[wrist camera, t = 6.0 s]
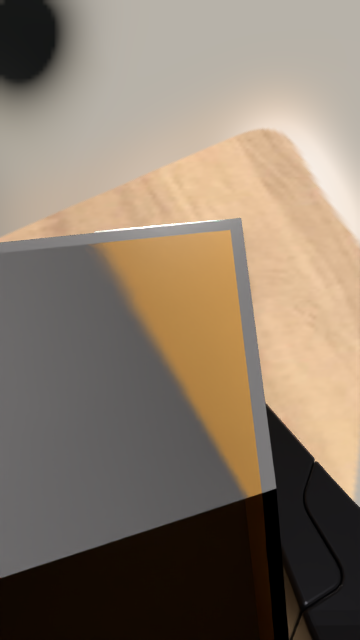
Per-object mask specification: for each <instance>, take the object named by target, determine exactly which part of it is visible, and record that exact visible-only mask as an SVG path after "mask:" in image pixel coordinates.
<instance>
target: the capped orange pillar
mask: <svg viewBox="0 0 360 640" xmlns="http://www.w3.org/2000/svg"><path fill="white" fill-rule="evenodd" d="M0 640H289V633H288V621H287V609H286V597H285V585H284V573H283V561H282V549H281V537H280V525H279V513H278V502H277V490H276V482H275V474H274V466H273V459H272V451H271V443H270V436H269V428H268V420H267V413H266V405H265V397H264V390H263V382H262V374H261V367H260V359H259V351H258V344H257V336H256V328H255V321H254V313H253V305H252V298H251V290H250V282H249V275H248V267H247V259H246V252H245V244H244V236H243V229H242V221H241V218H236V219H226V220H216V221H207V222H197V223H187V224H177V225H168V226H158V227H148V228H138V229H128V230H119V231H109V232H99V233H89V234H79V235H70V236H60V237H50V238H40V239H30V240H21V241H11V242H1V243H0Z"/></svg>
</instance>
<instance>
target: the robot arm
mask: <svg viewBox="0 0 360 640" xmlns="http://www.w3.org/2000/svg"><path fill="white" fill-rule="evenodd" d="M265 405H266V413H267V420H268V428H269V436H270V443H271V451H272V459H273V466H274V474H275V482H276V490H277V502H278V513H279V525H280V537H281V549H282V561H283V573H284V585H285V597H286V609H287V621H288V633H289V640H360V507H359V506H358V505H357V504H356V503H355V502H354V501H353V500H352V499H351V498H350V497H349V496H348V495H347V494H346V493H345V492H344V490H343V489H342V488H341V487H340V486H339V485H338V484H337V483H336V482H335V481H334V480H333V479H332V477H331V476H330V475H329V474H328V473H327V472H326V471H325V470H324V468H323V467H322V466H321V465H320V464H319V463H318V462H317V461H315V459H314V457H313V456H312V455H311V454H310V453H309V452H308V450H307V449H306V448H305V447H304V446H303V445H302V444H301V442H300V441H299V440H298V439H297V438H296V437H295V436H294V435H293V433H292V432H291V431H290V430H289V429H288V428H287V427H286V425H285V424H284V423H283V422H282V421H281V420H280V419H279V418H278V416H277V415H276V414H275V413H274V412H273V411H272V410H271V408H270V407H269V406H268V405H267V404H266V403H265ZM314 461H315V462H314Z"/></svg>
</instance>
